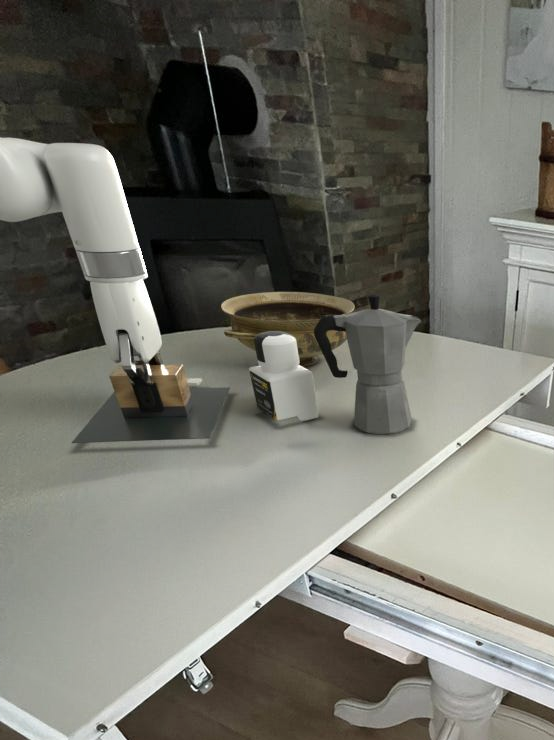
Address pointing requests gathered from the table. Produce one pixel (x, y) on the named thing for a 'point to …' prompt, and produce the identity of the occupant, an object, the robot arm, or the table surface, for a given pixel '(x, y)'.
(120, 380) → the eraser
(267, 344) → the medicine bottle
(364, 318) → the coffeepot
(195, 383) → the chalk lump
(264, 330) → the ceramic bowl
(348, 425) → the table surface
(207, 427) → the slate board
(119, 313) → the robot arm
